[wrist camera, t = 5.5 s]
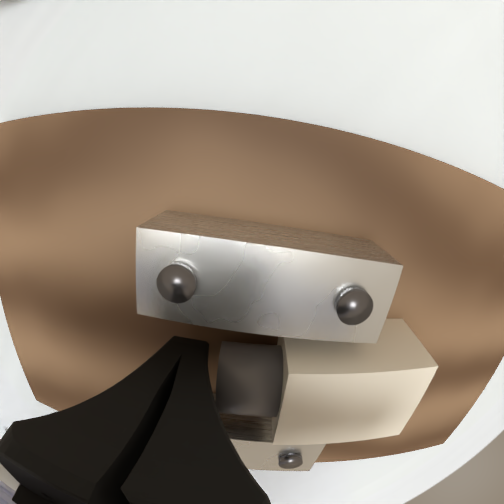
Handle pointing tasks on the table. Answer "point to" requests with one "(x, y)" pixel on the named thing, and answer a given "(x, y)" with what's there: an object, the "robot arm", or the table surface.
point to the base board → (242, 208)
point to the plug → (327, 385)
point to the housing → (263, 296)
